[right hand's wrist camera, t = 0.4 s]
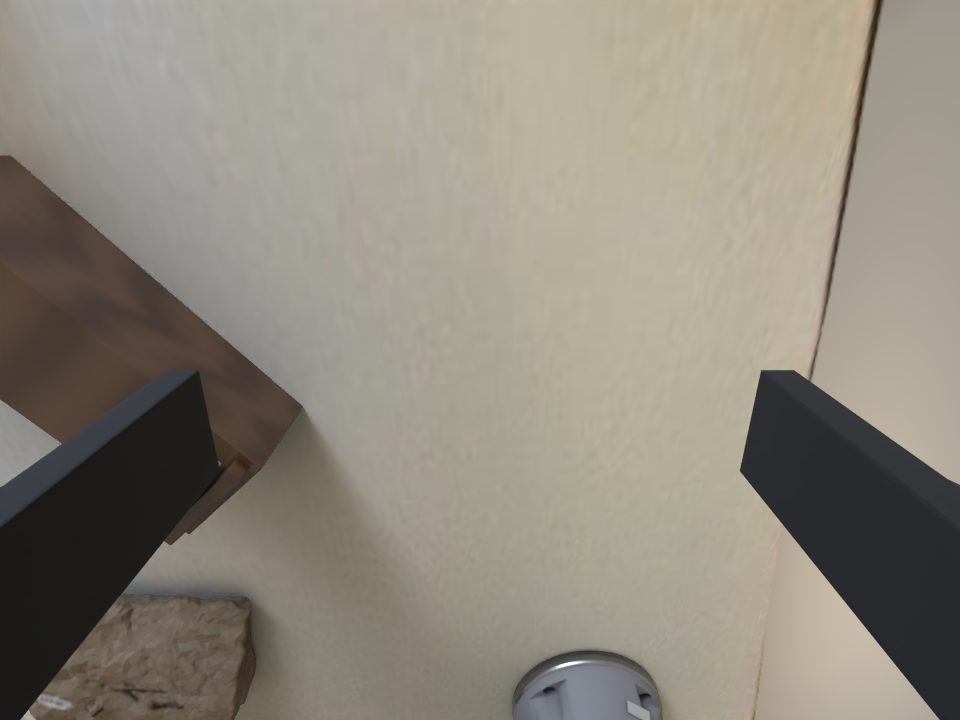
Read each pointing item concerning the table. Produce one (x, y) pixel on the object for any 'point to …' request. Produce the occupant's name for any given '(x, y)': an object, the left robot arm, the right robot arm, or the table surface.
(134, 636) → the stone
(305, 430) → the table surface
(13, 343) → the slotted wooden block
